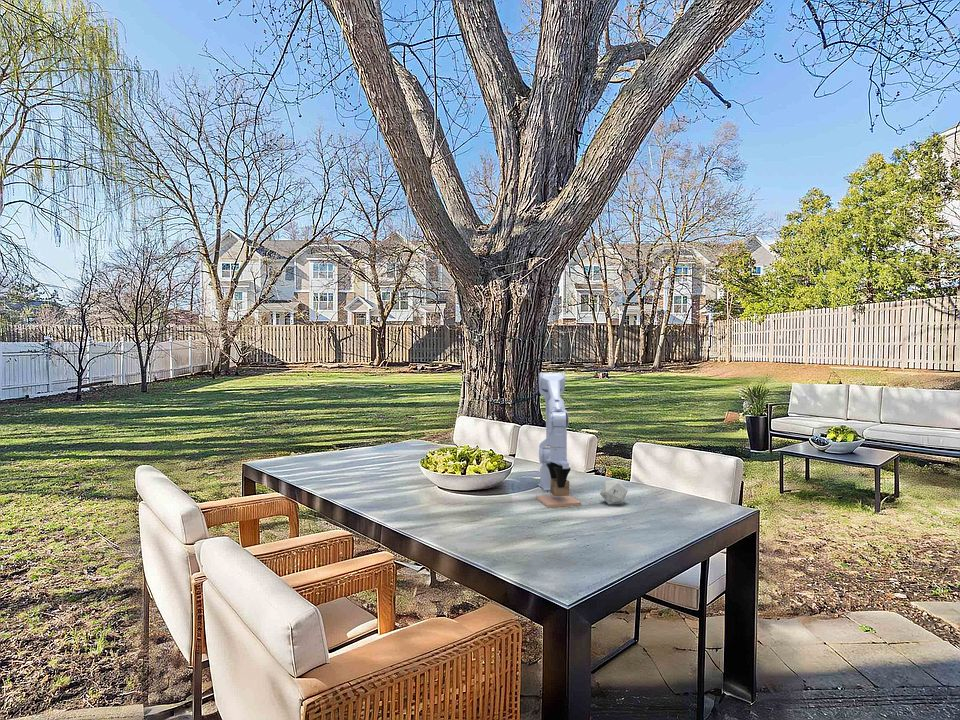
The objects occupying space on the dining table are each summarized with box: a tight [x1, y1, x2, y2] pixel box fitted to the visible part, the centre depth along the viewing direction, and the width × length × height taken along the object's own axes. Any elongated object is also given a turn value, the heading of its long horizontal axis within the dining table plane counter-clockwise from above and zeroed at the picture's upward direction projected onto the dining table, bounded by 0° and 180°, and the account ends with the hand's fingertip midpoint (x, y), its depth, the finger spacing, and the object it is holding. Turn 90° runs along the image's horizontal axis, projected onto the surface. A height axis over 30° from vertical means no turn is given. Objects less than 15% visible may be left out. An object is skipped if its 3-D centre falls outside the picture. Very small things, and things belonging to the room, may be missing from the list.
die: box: [599, 479, 628, 506], centre depth 200 cm, size 8×9×10 cm
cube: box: [549, 478, 570, 496], centre depth 201 cm, size 5×5×5 cm
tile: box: [535, 494, 582, 509], centre depth 201 cm, size 12×12×1 cm
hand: (558, 485), depth 201 cm, fingers closed on cube, 5 cm apart
